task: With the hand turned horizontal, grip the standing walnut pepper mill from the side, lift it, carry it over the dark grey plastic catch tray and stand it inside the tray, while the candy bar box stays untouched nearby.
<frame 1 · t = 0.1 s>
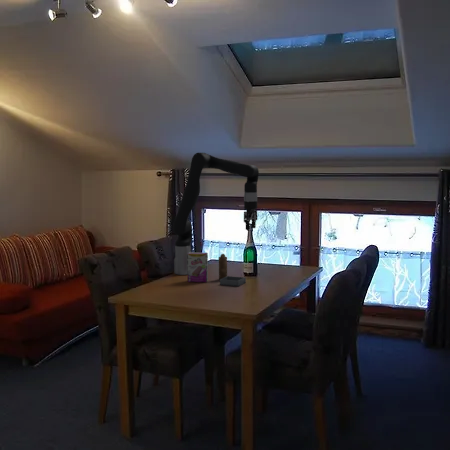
hand: (250, 229, 294), 29 cm above the table, tool pointing down, fingers open, 8 cm apart
candy bar box: (197, 281, 294), on the table
pepper mill: (223, 279, 298), on the table
catch tray: (232, 283, 287), on the table
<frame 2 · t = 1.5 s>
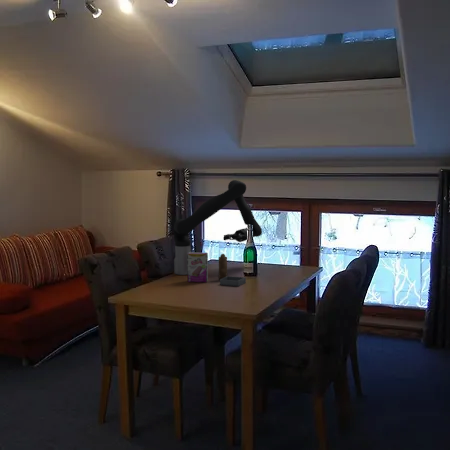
hand: (230, 238, 305), 22 cm above the table, tool horizontal, fingers open, 8 cm apart
nothing on the table moved.
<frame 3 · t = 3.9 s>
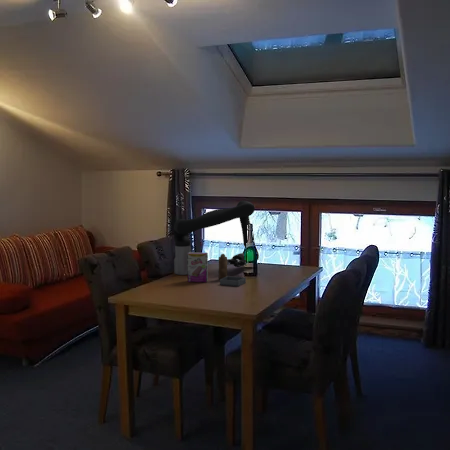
hand: (228, 264, 304), 8 cm above the table, tool horizontal, fingers open, 8 cm apart
nothing on the table moved.
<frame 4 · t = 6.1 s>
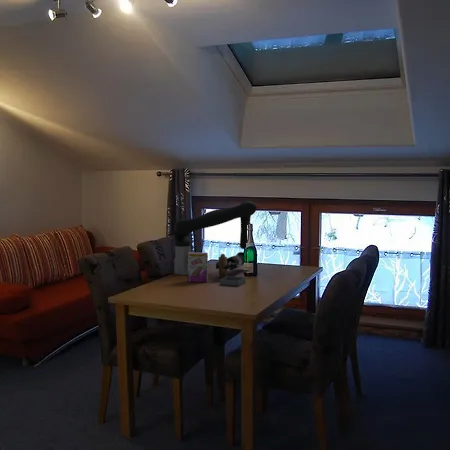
hand: (220, 267, 295), 8 cm above the table, tool horizontal, fingers closed on pepper mill, 4 cm apart
pepper mill: (223, 279, 298), on the table, touching gripper
everything else where it was.
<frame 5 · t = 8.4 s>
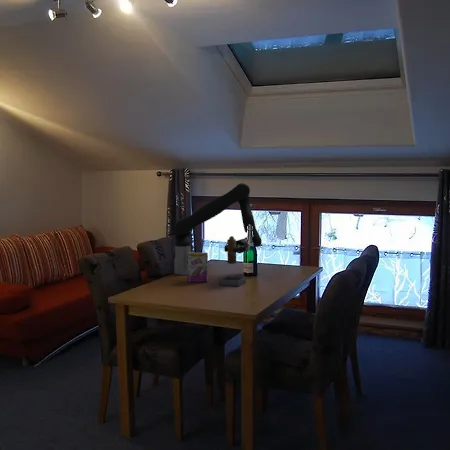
hand: (229, 250, 284), 19 cm above the table, tool horizontal, fingers closed on pepper mill, 4 cm apart
pepper mill: (232, 262, 288), point 11 cm above the table, touching gripper
everything else where it was.
when the fingers open (9 cm above the table, at t = 10.8 s): pepper mill drops 1 cm, resting on catch tray.
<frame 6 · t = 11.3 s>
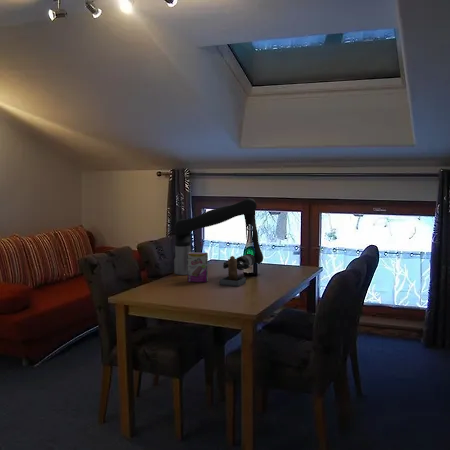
hand: (231, 267, 284), 10 cm above the table, tool horizontal, fingers open, 8 cm apart
pepper mill: (232, 282, 287), point 1 cm above the table, touching catch tray
everything else where it was.
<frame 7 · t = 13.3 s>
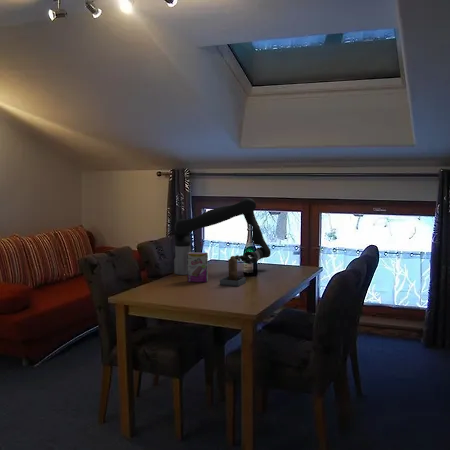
hand: (240, 260, 296), 11 cm above the table, tool horizontal, fingers open, 8 cm apart
nothing on the table moved.
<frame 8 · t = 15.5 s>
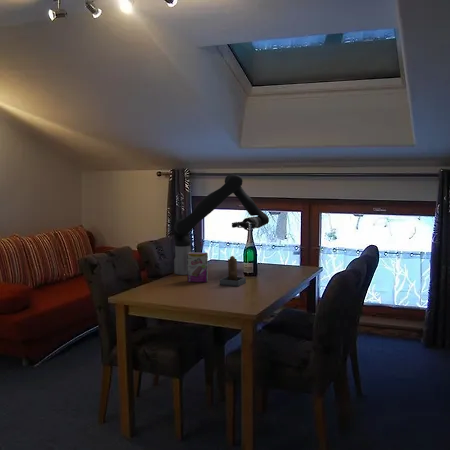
hand: (239, 226, 301), 30 cm above the table, tool horizontal, fingers open, 8 cm apart
nothing on the table moved.
at the end: pepper mill 0.1 cm from the catch tray (horizontally); pepper mill point 0.6 cm above the table; pepper mill tilted 1° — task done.
